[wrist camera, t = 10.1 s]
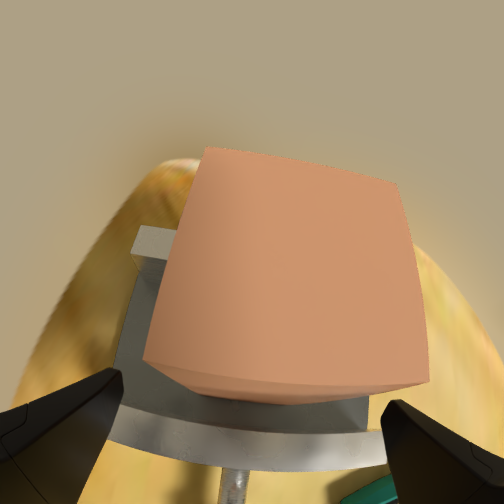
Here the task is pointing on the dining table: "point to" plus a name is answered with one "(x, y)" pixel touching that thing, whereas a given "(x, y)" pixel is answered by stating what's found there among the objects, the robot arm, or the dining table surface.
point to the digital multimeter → (375, 493)
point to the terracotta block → (289, 285)
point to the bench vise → (225, 407)
